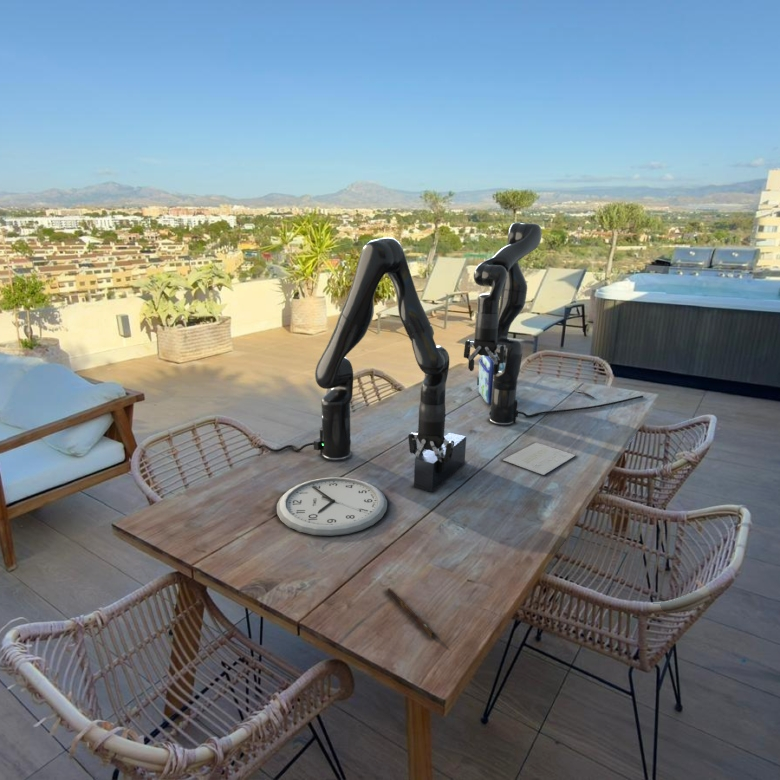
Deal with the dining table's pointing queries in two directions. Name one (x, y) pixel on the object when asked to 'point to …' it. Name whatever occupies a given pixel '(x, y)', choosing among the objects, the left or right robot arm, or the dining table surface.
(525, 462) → the invitation card
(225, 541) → the dining table surface
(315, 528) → the wall clock
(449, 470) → the bar
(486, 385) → the lunch box
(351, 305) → the left robot arm
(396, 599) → the dark brown stick
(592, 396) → the fork
